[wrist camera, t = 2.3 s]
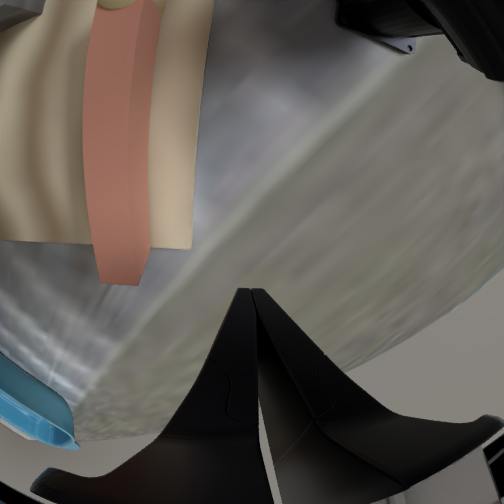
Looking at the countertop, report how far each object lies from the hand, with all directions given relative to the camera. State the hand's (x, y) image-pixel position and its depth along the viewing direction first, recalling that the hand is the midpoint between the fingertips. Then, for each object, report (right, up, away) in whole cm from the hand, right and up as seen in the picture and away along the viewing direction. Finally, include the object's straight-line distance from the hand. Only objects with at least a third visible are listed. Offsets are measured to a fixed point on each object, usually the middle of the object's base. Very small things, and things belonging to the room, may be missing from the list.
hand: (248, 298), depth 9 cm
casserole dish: (-44, -19, +20) cm, 52 cm away
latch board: (-14, +12, +4) cm, 19 cm away
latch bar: (-7, +9, +5) cm, 12 cm away
